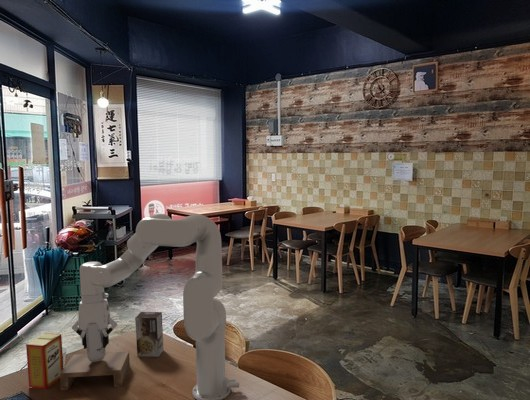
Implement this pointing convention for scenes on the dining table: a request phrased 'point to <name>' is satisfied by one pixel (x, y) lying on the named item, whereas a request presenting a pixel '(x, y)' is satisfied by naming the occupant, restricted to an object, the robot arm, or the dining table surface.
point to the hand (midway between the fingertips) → (95, 346)
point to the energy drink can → (94, 342)
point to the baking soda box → (44, 360)
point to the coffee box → (149, 334)
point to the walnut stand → (95, 368)
